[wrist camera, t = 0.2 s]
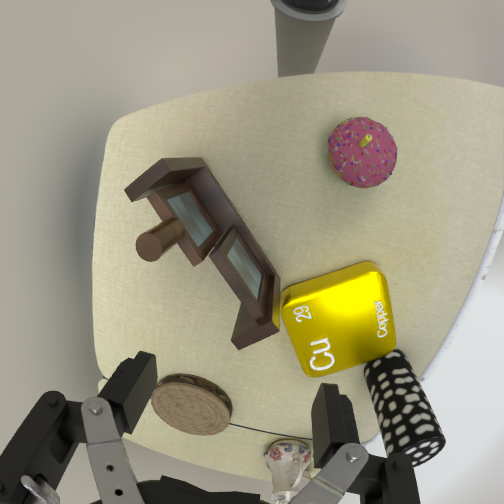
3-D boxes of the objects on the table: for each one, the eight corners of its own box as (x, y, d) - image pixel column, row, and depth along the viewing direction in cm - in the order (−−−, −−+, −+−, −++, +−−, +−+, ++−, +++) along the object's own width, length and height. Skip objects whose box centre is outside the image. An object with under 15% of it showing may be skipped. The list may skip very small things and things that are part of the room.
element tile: (390, 337, 42) (398, 354, 38) (305, 364, 45) (306, 383, 41) (375, 256, 39) (385, 268, 34) (276, 289, 41) (276, 305, 37)
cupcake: (309, 154, 35) (322, 152, 24) (348, 108, 33) (376, 88, 21) (357, 197, 36) (389, 214, 25) (395, 152, 34) (438, 152, 22)
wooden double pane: (172, 178, 38) (123, 189, 25) (201, 157, 37) (161, 158, 24) (251, 294, 42) (238, 350, 29) (280, 278, 41) (279, 331, 28)
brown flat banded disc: (249, 405, 50) (247, 416, 47) (203, 433, 55) (200, 443, 52) (181, 360, 48) (176, 371, 45) (143, 395, 52) (138, 405, 50)
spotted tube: (355, 370, 45) (378, 463, 26) (392, 340, 43) (434, 430, 24) (379, 389, 46) (404, 474, 27) (413, 363, 44) (452, 444, 25)
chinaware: (307, 472, 60) (314, 521, 44) (248, 469, 58) (248, 522, 43) (356, 415, 51) (376, 477, 35) (283, 411, 49) (290, 483, 34)
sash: (176, 189, 36) (110, 212, 21) (190, 178, 36) (129, 195, 21) (211, 241, 38) (168, 296, 23) (226, 232, 38) (189, 283, 22)
